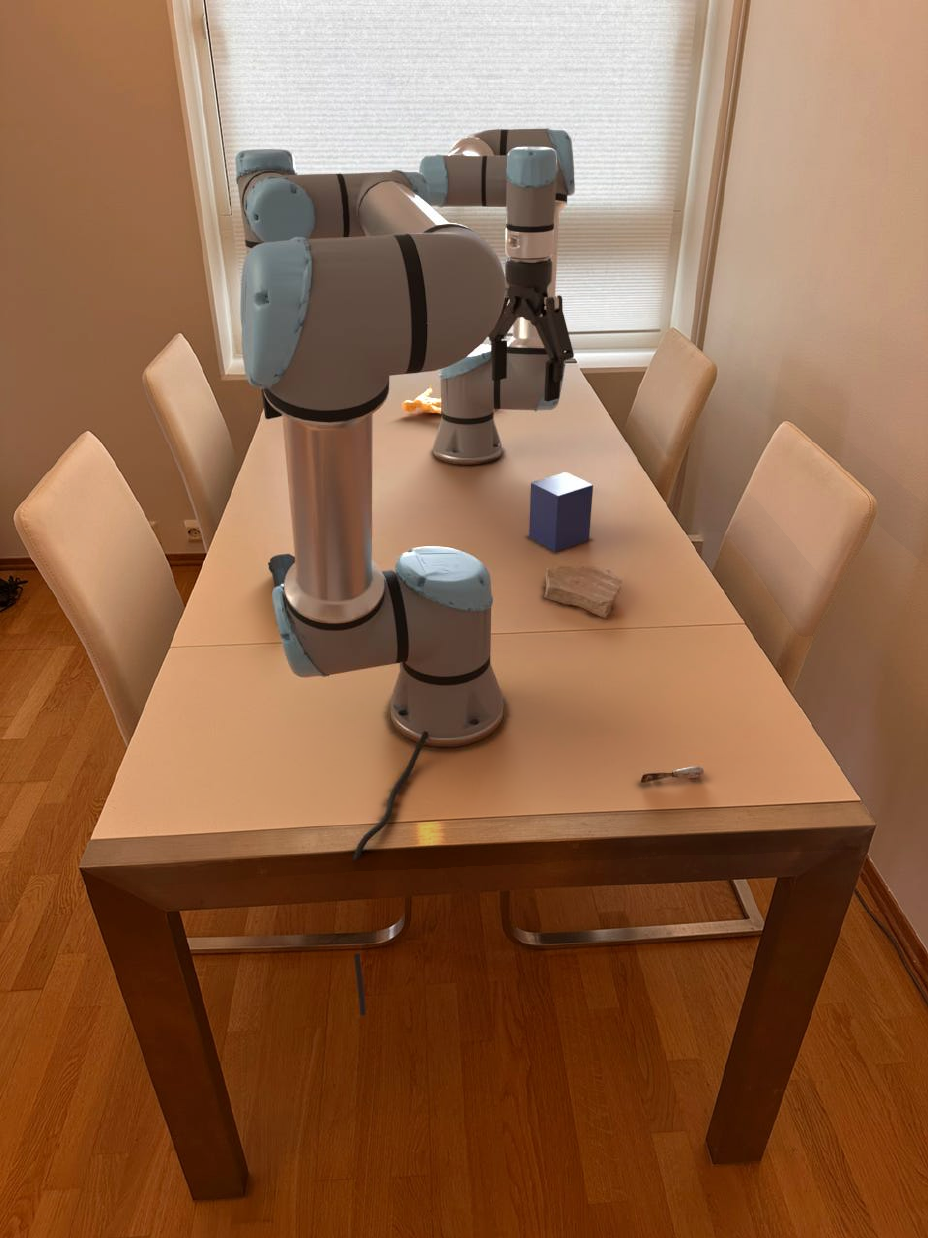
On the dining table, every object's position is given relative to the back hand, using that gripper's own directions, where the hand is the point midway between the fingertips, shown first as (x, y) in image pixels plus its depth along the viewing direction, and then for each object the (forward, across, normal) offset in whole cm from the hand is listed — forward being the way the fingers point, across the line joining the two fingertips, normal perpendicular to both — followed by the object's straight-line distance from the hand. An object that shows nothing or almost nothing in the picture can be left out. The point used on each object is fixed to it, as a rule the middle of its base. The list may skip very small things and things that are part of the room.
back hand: (524, 389), depth 153 cm
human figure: (+28, -63, +31) cm, 76 cm away
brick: (+27, +7, +4) cm, 28 cm away
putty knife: (+26, +63, -30) cm, 75 cm away
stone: (+27, +25, -8) cm, 38 cm away
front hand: (-2, -3, -43) cm, 43 cm away
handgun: (+27, -5, -42) cm, 50 cm away
